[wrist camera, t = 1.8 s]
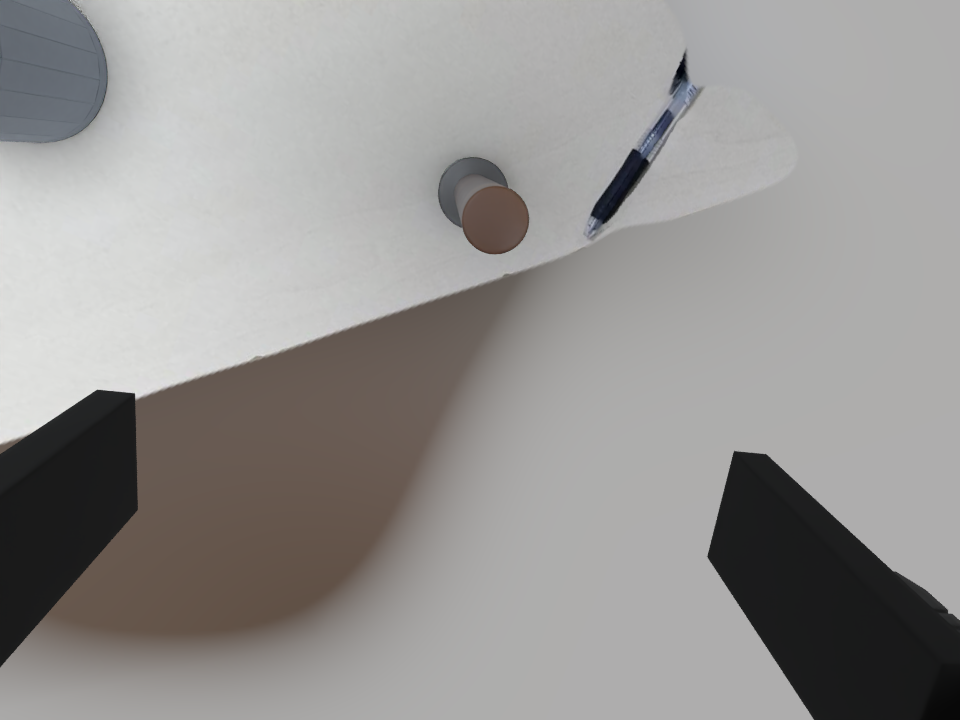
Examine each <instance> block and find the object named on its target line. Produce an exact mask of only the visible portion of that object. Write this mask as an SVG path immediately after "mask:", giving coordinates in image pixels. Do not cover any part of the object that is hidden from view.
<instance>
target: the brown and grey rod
mask: <svg viewBox="0 0 960 720" xmlns="http://www.w3.org/2000/svg"><path fill="white" fill-rule="evenodd" d="M438 197H439V203H440V206H441V209H442V211H443V212H444V214H445V215H446V217H447V218H448V219H449V220H450V221H451V222H452V223H454V224H455V225H457V226H459V227H461V228H463V232H464V234H465V236H466V238H467V240H468V241H469V242H470V243H471V244H472V245H473V246H474V247H475V248H476V249H478V250H480V251H482V252H484V253H488V254H502V253H506V252H508V251H510V250H512V249H514V248H515V247H516V246H517V245H518V244H520V242H521V241H522V240H523V238H524V237H525V235H526V232H527V229H528V225H529V214H528V209H527V207H526V204H525V202H524V201H523V199H522V198H521V197H520V196H519V195H518V194H517V193H516V192H515V191H513V190H511V189H509V188H508V185H507V182H506V179H505V177H504V175H503V173H502V172H501V170H500V169H499V168H498V167H497V166H496V165H494V164H493V163H491V162H490V161H488V160H485V159H482V158H477V157H469V158H463V159H459V160H457V161H455V162H453V163H452V164H451V165H450V166H449V167H448V168H447V169H446V170H445V171H444V173H443V175H442V177H441V180H440V184H439V190H438Z"/></svg>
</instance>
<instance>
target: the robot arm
mask: <svg viewBox="0 0 960 720" xmlns="http://www.w3.org/2000/svg"><path fill="white" fill-rule="evenodd" d="M136 459H137V458H136V416H135V393H125V392H115V391H104V390H96V391H95V392H93V393H92V394H90V395H89V396H87V397H86V398H84V399H83V400H81V401H80V402H78V403H77V404H75V405H74V406H72V407H71V408H69V409H68V410H66V411H65V412H63V413H62V414H60V415H59V416H57V417H56V418H54V419H53V420H51V421H49V422H48V423H46V424H45V425H43V426H42V427H40V428H39V429H37V430H36V431H34V432H33V433H31V434H30V435H28V436H27V437H25V438H24V439H22V440H21V441H19V442H18V443H17V444H15V445H13V446H12V447H10V448H9V449H7V450H6V451H5V452H3V453H1V454H0V667H1V666H2V665H3V663H4V662H5V661H6V660H7V659H8V658H9V656H10V655H11V654H12V653H13V652H14V651H15V650H16V649H17V647H18V646H19V645H20V644H21V643H22V642H23V641H24V639H25V638H26V637H27V636H28V635H29V634H30V632H31V631H32V630H33V629H34V628H35V626H36V625H38V623H39V622H40V621H41V620H42V619H43V618H44V616H45V615H46V614H47V613H48V612H49V611H50V610H51V608H52V607H53V606H54V605H55V604H56V603H57V601H58V600H59V599H60V598H61V597H62V596H63V595H64V594H65V592H66V591H67V590H68V589H69V588H70V587H71V586H72V585H73V583H74V582H75V581H76V580H77V579H78V578H79V577H80V575H81V574H82V573H83V572H84V571H85V570H86V568H87V567H88V566H89V565H90V564H91V563H92V561H93V560H94V559H95V558H96V557H97V556H98V555H99V554H100V552H101V551H102V550H103V549H104V548H105V547H106V546H107V544H108V543H109V542H110V541H111V539H113V538H114V536H115V535H116V534H117V533H118V532H119V531H120V530H121V528H122V527H123V526H124V525H125V524H126V523H127V522H128V520H129V519H130V518H131V517H132V516H133V515H134V514H135V512H136V511H137V510H138V500H137V460H136ZM708 559H709V560H710V562H711V563H712V565H713V566H714V568H715V569H716V571H717V572H718V574H719V575H720V577H721V579H722V580H723V582H724V583H725V585H726V586H727V588H728V589H729V591H730V592H731V594H732V595H733V597H734V598H735V600H736V601H737V603H738V604H739V606H740V607H741V609H742V610H743V612H744V613H745V615H746V617H747V618H748V620H749V621H750V622H751V624H752V626H753V627H754V629H755V630H756V632H757V633H758V635H759V636H760V638H761V639H762V641H763V643H764V644H765V645H766V647H767V648H768V650H769V652H770V653H771V655H772V656H773V658H774V659H775V661H776V662H777V664H778V665H779V667H780V668H781V670H782V671H783V673H784V674H785V676H786V678H787V679H788V681H789V682H790V684H791V685H792V686H793V688H794V690H795V691H796V693H797V694H798V696H799V697H800V699H801V700H802V702H803V703H804V705H805V706H806V708H807V709H808V711H809V713H810V714H811V716H812V717H813V719H814V720H960V620H959V619H957V618H956V617H955V616H954V615H953V614H948V610H947V609H946V608H945V607H944V606H943V605H942V604H941V603H940V602H938V601H937V600H936V599H935V598H934V597H933V596H932V595H931V594H930V593H928V592H927V591H926V590H925V589H923V588H922V587H920V586H918V585H916V584H915V583H913V582H912V581H910V580H908V579H907V578H905V577H904V576H902V575H900V574H899V573H897V572H893V571H892V570H891V569H890V568H889V567H887V565H886V564H885V563H883V562H882V561H881V560H880V559H879V558H878V557H877V556H876V555H875V554H874V553H872V551H870V550H869V549H868V548H867V547H866V546H865V545H864V544H863V543H861V541H860V540H858V539H857V538H856V537H855V536H854V535H853V534H852V533H851V532H850V531H849V530H848V529H847V528H845V527H844V526H843V525H842V524H841V523H840V522H839V521H838V520H837V519H836V518H835V517H833V515H831V514H830V513H829V512H828V511H827V510H826V509H825V508H824V507H823V506H822V505H820V504H819V503H818V502H817V501H816V500H815V499H814V498H813V497H812V496H811V495H810V494H809V493H808V492H806V491H805V490H804V489H803V488H802V487H801V486H800V485H799V484H798V483H797V482H796V481H795V480H793V479H792V478H791V477H790V476H789V475H788V474H787V473H786V472H785V471H784V470H783V469H782V468H780V467H779V466H778V465H777V464H776V463H775V462H774V461H773V460H772V459H771V458H770V457H769V456H768V455H766V454H757V453H747V452H737V451H734V453H733V457H732V461H731V465H730V469H729V473H728V477H727V481H726V485H725V489H724V493H723V497H722V501H721V505H720V509H719V513H718V517H717V520H716V525H715V529H714V532H713V536H712V540H711V545H710V548H709V552H708Z"/></svg>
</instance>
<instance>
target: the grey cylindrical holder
mask: <svg viewBox="0 0 960 720" xmlns="http://www.w3.org/2000/svg"><path fill="white" fill-rule="evenodd" d="M106 85H107V69H106V61H105V57H104V53H103V50H102V47H101V44H100V42H99V39H98V37H97V35H96V33H95V31H94V30H93V28H92V26H91V25H90V23H89V22H88V20H87V19H86V18H85V17H84V16H83V14H82V13H81V12H80V11H79V10H78V9H77V8H76V7H75V6H74V5H73V4H72V3H71V2H70V1H68V0H0V141H10V142H35V143H41V142H55V141H59V140H63V139H66V138H69V137H71V136H73V135H75V134H77V133H78V132H80V131H82V130H83V129H84V128H85V127H86V126H87V125H88V124H89V123H90V122H91V121H92V120H93V119H94V117H95V116H96V114H97V113H98V111H99V109H100V107H101V105H102V102H103V99H104V96H105V92H106Z"/></svg>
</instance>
